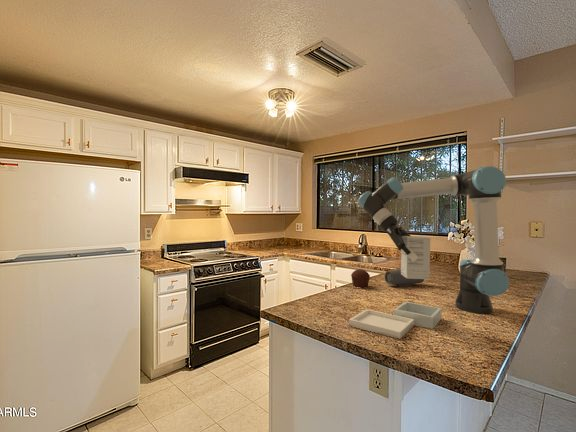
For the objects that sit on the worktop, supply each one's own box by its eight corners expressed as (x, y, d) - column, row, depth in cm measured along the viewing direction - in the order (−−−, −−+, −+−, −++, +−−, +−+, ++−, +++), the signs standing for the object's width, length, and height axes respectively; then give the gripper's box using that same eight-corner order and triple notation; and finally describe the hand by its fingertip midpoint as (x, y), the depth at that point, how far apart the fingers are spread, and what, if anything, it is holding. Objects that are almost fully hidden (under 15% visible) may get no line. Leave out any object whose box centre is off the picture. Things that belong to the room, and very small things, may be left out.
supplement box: (430, 279, 123) (431, 237, 122) (406, 278, 124) (407, 237, 123) (422, 274, 132) (423, 236, 132) (400, 274, 133) (401, 235, 133)
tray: (414, 325, 122) (414, 319, 122) (399, 339, 108) (400, 332, 108) (366, 314, 134) (366, 309, 134) (348, 325, 121) (348, 319, 121)
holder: (441, 318, 130) (441, 308, 130) (432, 329, 118) (432, 317, 118) (405, 311, 139) (405, 301, 139) (393, 320, 128) (394, 309, 128)
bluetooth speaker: (392, 288, 182) (393, 271, 181) (384, 284, 191) (384, 268, 190) (425, 286, 188) (425, 270, 188) (415, 282, 197) (415, 267, 196)
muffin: (370, 289, 179) (370, 272, 179) (351, 288, 181) (351, 271, 181) (369, 284, 191) (369, 268, 190) (351, 283, 193) (351, 267, 193)
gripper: (389, 225, 147) (422, 260, 138) (368, 226, 128) (404, 267, 119) (401, 214, 144) (435, 249, 134) (380, 214, 125) (418, 255, 115)
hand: (420, 258), depth 126 cm, fingers closed on supplement box, 12 cm apart
